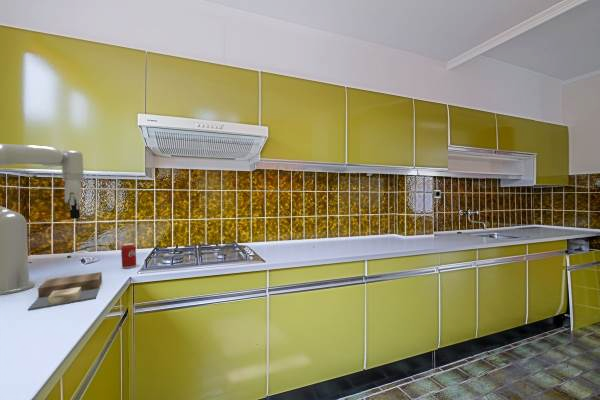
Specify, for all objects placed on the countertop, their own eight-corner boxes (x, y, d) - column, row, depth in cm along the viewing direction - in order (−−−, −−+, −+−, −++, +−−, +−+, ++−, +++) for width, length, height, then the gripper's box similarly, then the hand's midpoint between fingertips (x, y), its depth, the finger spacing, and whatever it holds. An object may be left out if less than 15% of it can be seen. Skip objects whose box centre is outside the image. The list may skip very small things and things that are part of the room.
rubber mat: (28, 310, 92) (28, 308, 92) (37, 299, 102) (37, 298, 102) (95, 298, 101) (95, 297, 101) (98, 289, 111) (98, 288, 111)
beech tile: (53, 291, 102) (53, 297, 102) (48, 297, 96) (48, 304, 96) (81, 286, 106) (81, 293, 106) (77, 292, 100) (78, 299, 100)
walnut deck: (38, 298, 103) (38, 288, 102) (47, 289, 113) (46, 279, 113) (98, 289, 112) (98, 279, 112) (101, 281, 122) (101, 272, 122)
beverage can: (134, 268, 142) (133, 244, 142) (120, 269, 140) (119, 245, 140) (137, 265, 148) (136, 242, 148) (124, 266, 147) (123, 243, 146)
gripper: (66, 179, 132) (68, 217, 133) (58, 177, 119) (61, 220, 120) (85, 179, 136) (87, 216, 136) (81, 177, 123) (83, 219, 124)
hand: (75, 218), depth 128 cm, fingers closed
